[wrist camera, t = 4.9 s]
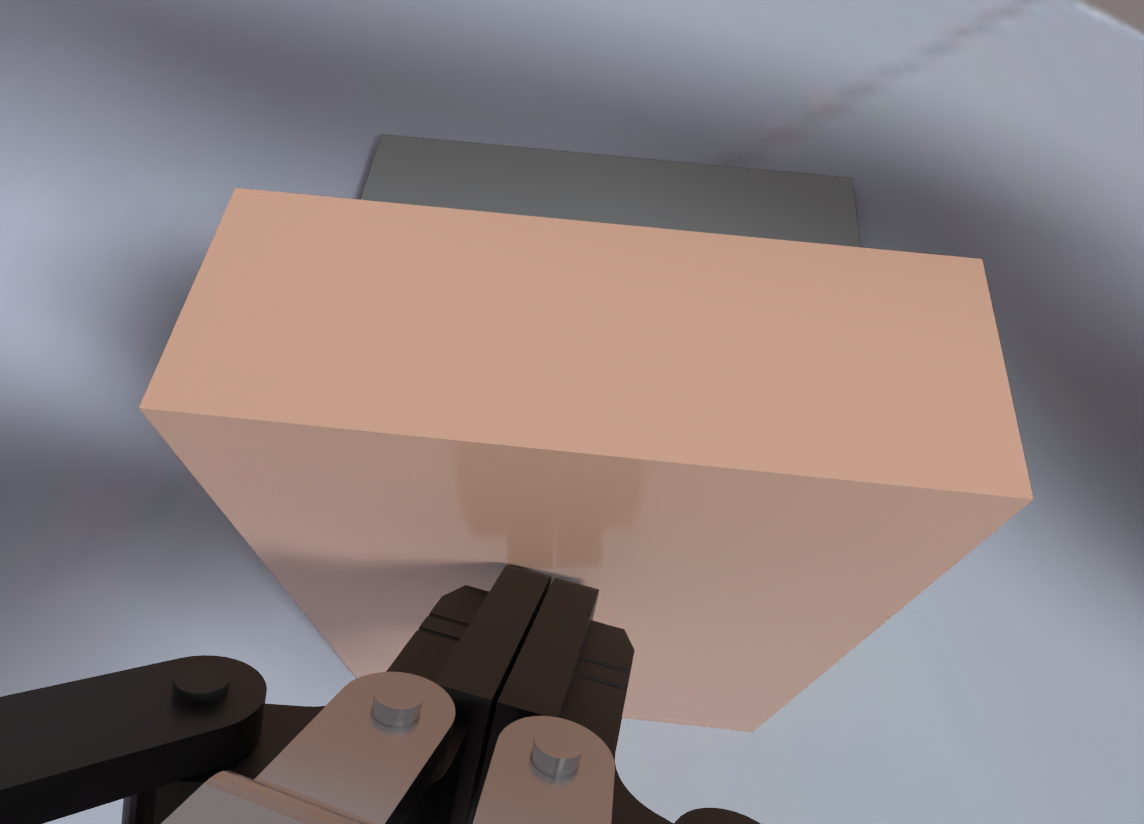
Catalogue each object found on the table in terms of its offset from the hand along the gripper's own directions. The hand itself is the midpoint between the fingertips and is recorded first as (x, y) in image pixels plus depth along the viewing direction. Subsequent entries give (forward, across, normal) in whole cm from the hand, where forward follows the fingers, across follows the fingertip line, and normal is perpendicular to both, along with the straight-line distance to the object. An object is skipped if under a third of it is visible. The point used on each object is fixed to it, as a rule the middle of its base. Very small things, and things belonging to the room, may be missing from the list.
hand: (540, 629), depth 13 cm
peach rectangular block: (+8, 0, +5) cm, 10 cm away
